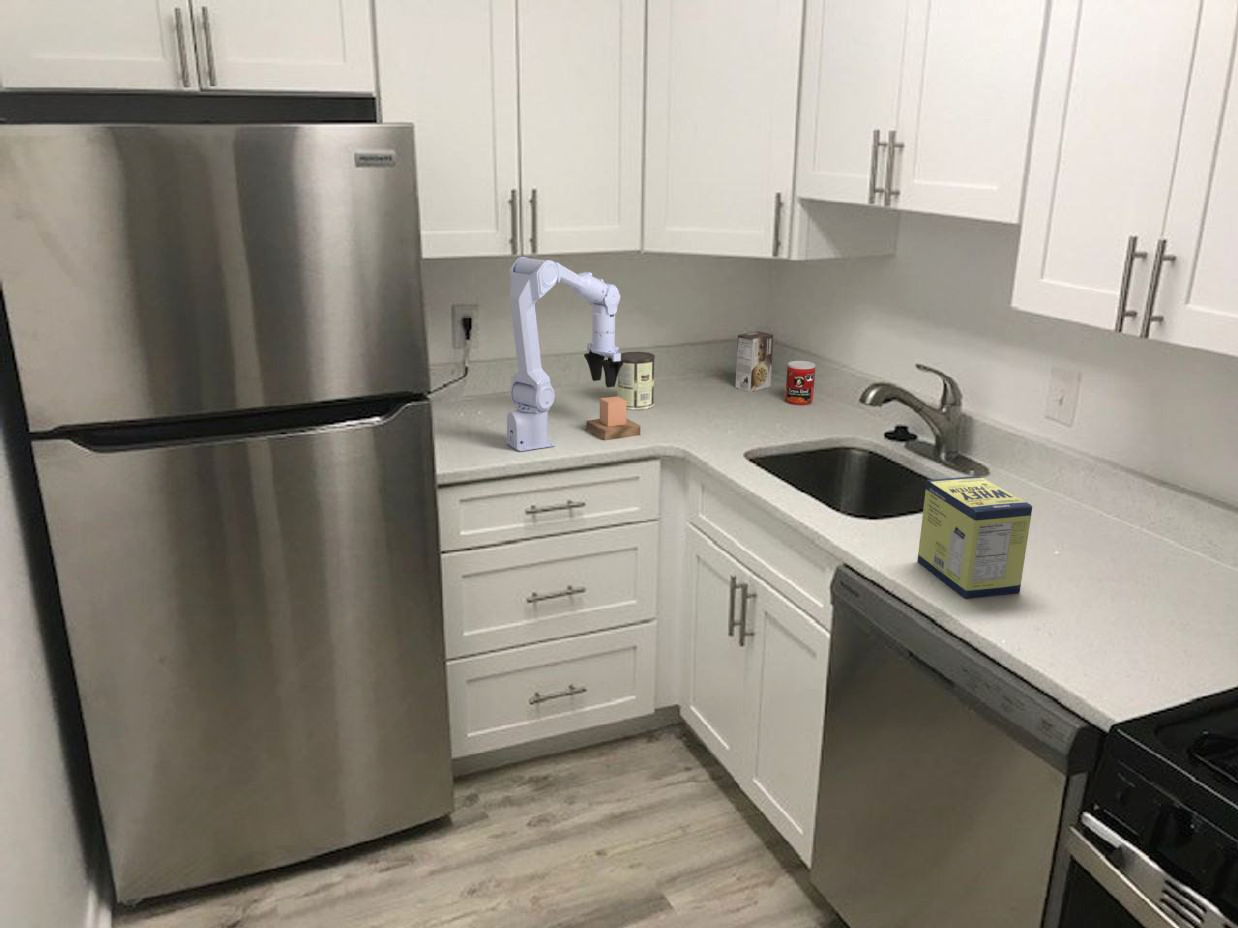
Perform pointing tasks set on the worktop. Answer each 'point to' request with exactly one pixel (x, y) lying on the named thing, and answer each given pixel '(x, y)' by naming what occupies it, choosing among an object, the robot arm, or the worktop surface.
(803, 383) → the canned food
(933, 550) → the protein box
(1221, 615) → the worktop surface
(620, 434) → the walnut base
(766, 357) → the brown white food box
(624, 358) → the coffee can
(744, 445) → the worktop surface
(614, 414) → the terracotta block
